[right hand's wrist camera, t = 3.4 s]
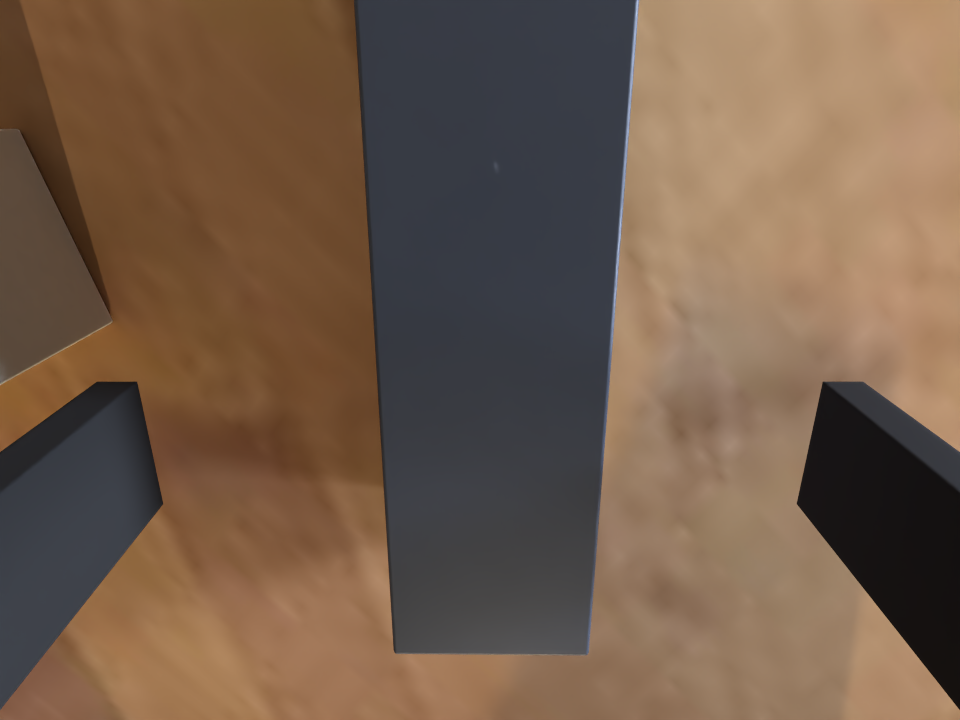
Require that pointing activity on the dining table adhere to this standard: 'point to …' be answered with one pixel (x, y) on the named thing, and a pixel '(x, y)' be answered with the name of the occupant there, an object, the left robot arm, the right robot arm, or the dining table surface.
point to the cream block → (38, 269)
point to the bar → (494, 306)
